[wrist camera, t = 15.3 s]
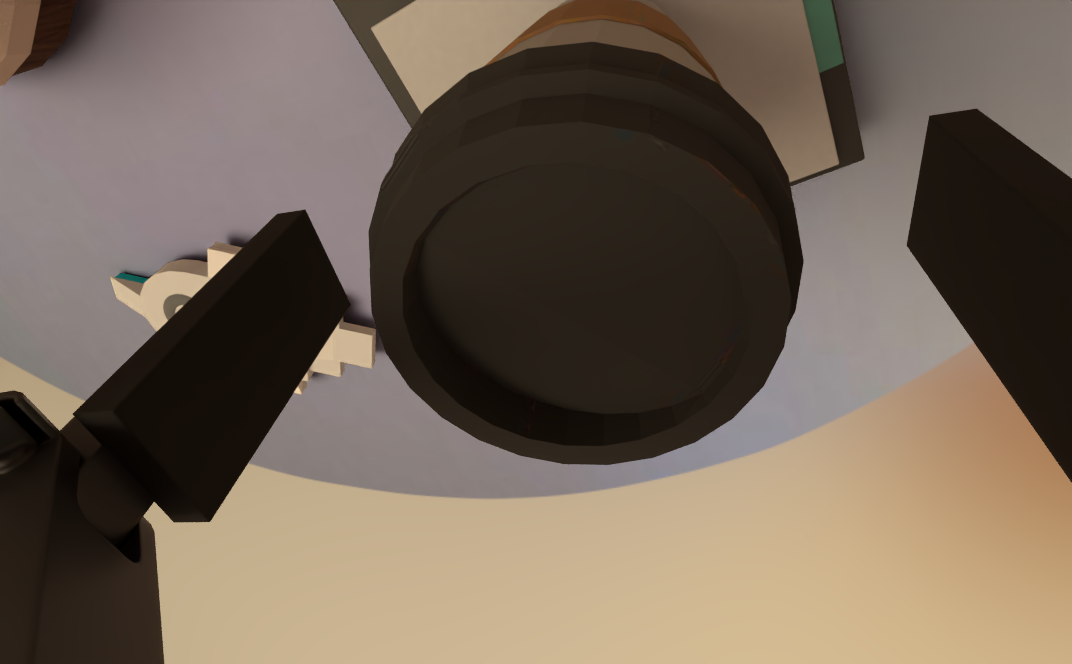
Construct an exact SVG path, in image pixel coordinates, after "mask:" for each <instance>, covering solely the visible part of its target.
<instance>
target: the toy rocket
mask: <svg viewBox="0 0 1072 664" xmlns="http://www.w3.org/2000/svg"><path fill="white" fill-rule="evenodd" d="M241 249H242V247H237V246H233V245H228V244H224V243H219V242H215V244H214V245H213V246H212V247H211V248H208V249H207V251H208V262H202V261H199V260H187V259H181V260H177V261H173V262H169V263H167V264H166V265H165V266H164V267H162V268H161V269H160V270H159V271H157V272H156V273H155V274H154V275H153V276H151V277H150V278H149V279H147V278H143V277H138V276H133V275H129V274H124V273H120V274H119V275H118V276H116V277H111V276H110V279H111V282H112V285H113V288H114V292H115V295H116V298H117V299H119V300H120V301H122V302H123V303H125V304H126V305H128V306H129V307H131V308H132V309H134V310H135V311H137V312H138V313H140V314H141V315H143V316H144V317H146V318H147V320H148V321H149V323H150V324H151V325H152V326H153V327H154V329H155V330H156V331H158V330H159V329H160V328H161V327H162V326H163V325H164V324H165V323H166V322H167V321H168V320H169V319H170V318H171V317H172V316H173V315H174V314H175V313H176V312H177V311H178V310H179V309H180V308H182V307H183V306H184V305H185V304H186V303H187V302H188V301H189V300H190V299H191V298H192V297H193V296H194V295H195V294H196V293H197V292H198V291H199V290H200V289H201V288H202V287H203V286H204V285H205V284H206V283H207V282H208V281H209V280H210V279H211V278H212V277H213V276H214V275H215V274H216V273H217V272H218V271H219V270H220V269H221V268H222V267H223V266H224V265H225V264H227V263H228V262H229V261H230V260H231V259H232V258H233V257H234V256H235V255H236V254H237V253H238V252H239V251H240V250H241ZM375 345H376V329H373V328H369V327H364V326H359V325H355V324H350V323H346V322H343V317H342V319H341V320H340V322H339V324H338V325H337V327H336V328H335V330H334V331H333V333H332V334H331V336H330V337H329V339H328V341H327V342H326V344H325V345H324V347H323V348H322V350H321V351H320V353H319V354H318V356H317V358H316V359H315V361H314V362H313V364H312V365H311V367H310V368H309V370H308V371H307V373H306V374H305V376H304V378H303V379H302V381H301V382H300V384H299V385H298V387H297V388H296V390H295V391H294V393H297V394H302V393H303V391H304V389H305V388H306V387H307V381H309V379H310V378H311V376H312V374H313V373H314V372H319V373H324V374H328V375H333V376H338V377H341V375H342V374H343V372H344V363H349V364H353V365H358V366H363V367H367V368H372V367H373V365H374V363H375Z"/></svg>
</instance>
